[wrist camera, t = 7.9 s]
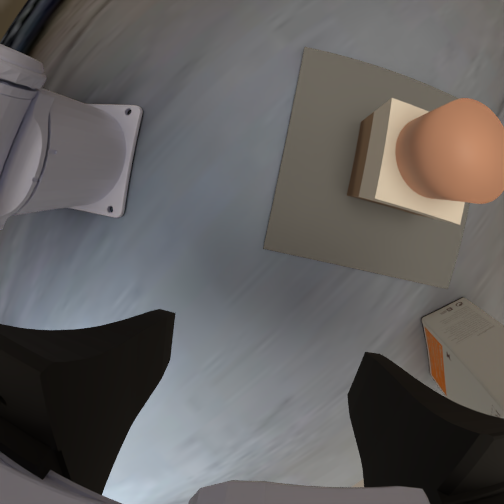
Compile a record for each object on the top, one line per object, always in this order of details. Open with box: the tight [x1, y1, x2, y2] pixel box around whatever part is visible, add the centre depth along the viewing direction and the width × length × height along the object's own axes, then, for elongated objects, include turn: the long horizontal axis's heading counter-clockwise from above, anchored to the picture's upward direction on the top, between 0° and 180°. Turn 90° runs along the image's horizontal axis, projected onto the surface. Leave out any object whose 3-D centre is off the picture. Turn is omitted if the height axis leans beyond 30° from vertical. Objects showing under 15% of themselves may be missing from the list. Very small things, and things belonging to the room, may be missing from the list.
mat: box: [263, 47, 470, 289], centre depth 19 cm, size 14×14×1 cm
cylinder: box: [395, 98, 504, 204], centre depth 11 cm, size 4×4×4 cm
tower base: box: [347, 112, 430, 218], centre depth 17 cm, size 5×5×3 cm
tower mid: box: [359, 98, 465, 225], centre depth 14 cm, size 5×5×3 cm
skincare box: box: [422, 298, 504, 419], centre depth 15 cm, size 6×4×12 cm
